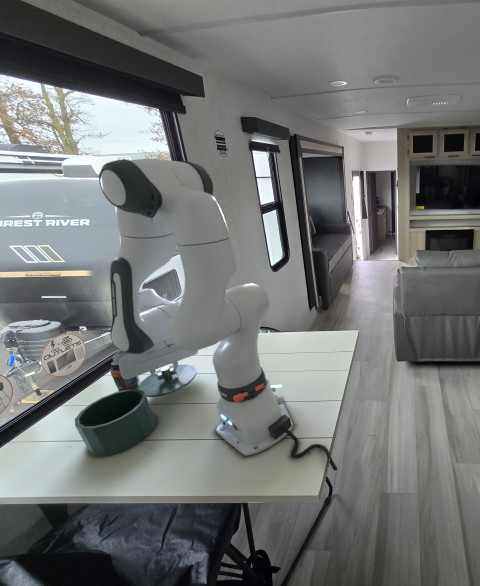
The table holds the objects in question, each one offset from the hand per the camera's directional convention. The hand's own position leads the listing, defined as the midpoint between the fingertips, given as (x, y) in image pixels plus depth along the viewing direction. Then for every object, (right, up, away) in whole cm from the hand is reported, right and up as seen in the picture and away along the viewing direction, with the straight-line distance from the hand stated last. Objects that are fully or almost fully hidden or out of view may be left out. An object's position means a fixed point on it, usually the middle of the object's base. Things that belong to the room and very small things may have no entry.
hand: (167, 376), depth 100 cm
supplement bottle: (-16, -6, +5) cm, 18 cm away
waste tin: (-3, -13, -13) cm, 19 cm away
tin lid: (0, -2, +1) cm, 2 cm away
